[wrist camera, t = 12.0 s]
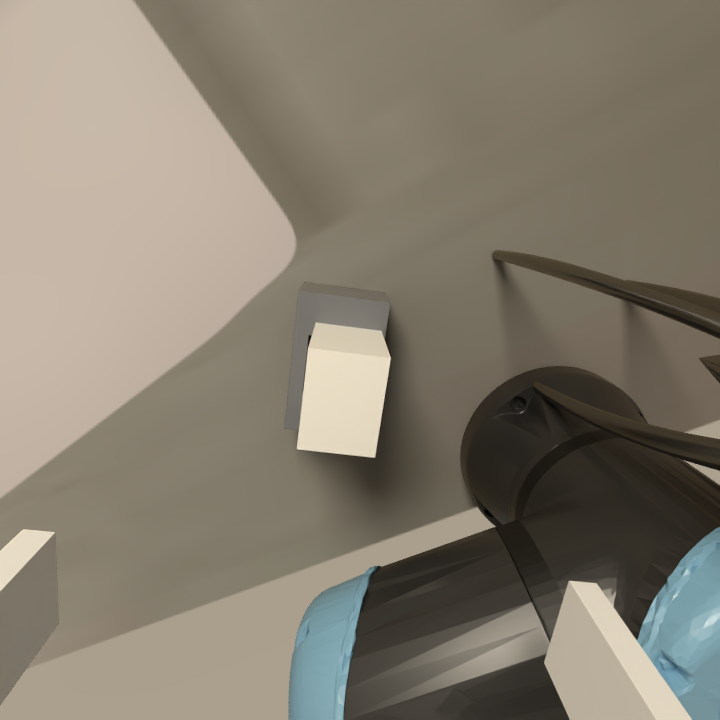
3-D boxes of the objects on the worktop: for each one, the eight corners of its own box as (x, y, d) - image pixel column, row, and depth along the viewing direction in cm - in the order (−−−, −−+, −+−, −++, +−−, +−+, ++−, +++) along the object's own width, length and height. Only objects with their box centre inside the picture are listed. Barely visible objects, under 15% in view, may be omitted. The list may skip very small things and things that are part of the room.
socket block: (384, 292, 37) (390, 302, 32) (366, 412, 40) (369, 438, 35) (304, 282, 37) (298, 290, 32) (291, 403, 39) (284, 428, 35)
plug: (376, 317, 37) (390, 358, 26) (366, 390, 39) (374, 457, 28) (319, 310, 37) (308, 348, 26) (311, 383, 39) (296, 449, 27)
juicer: (523, 385, 39) (1013, 800, 10) (490, 251, 37) (1021, 287, 7) (641, 349, 39) (1530, 682, 9) (617, 211, 36) (1731, 80, 7)
